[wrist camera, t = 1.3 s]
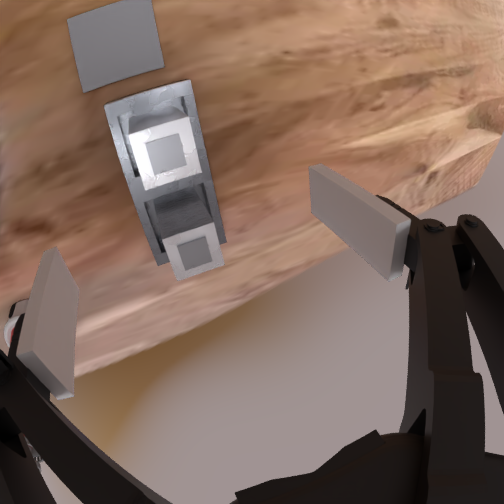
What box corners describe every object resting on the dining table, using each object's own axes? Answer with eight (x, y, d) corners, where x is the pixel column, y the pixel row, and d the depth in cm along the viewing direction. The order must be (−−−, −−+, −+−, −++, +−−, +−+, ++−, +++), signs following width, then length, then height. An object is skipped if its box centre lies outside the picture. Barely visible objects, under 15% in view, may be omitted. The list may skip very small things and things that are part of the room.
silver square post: (152, 198, 36) (162, 241, 28) (192, 185, 37) (214, 223, 29) (164, 234, 39) (178, 282, 31) (202, 221, 40) (225, 266, 32)
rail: (105, 103, 29) (103, 105, 27) (185, 79, 31) (190, 79, 29) (155, 253, 41) (157, 265, 38) (220, 231, 43) (226, 242, 40)
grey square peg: (128, 118, 31) (128, 135, 22) (173, 105, 32) (189, 117, 23) (140, 160, 33) (145, 191, 25) (182, 146, 34) (202, 173, 26)
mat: (67, 20, 22) (66, 19, 22) (149, -6, 24) (149, -7, 24) (84, 92, 27) (83, 93, 27) (164, 67, 29) (164, 66, 29)
